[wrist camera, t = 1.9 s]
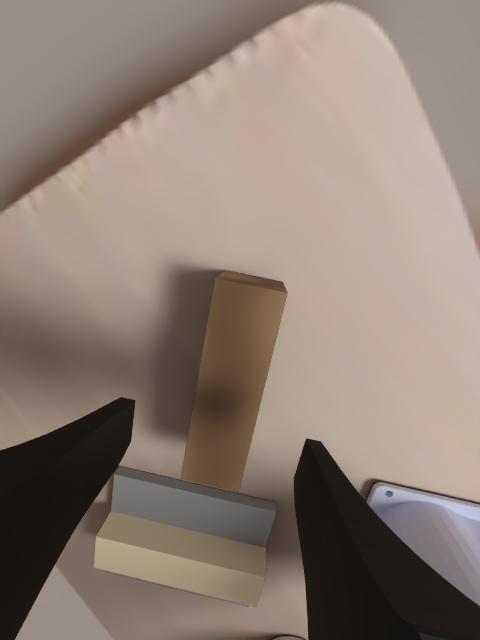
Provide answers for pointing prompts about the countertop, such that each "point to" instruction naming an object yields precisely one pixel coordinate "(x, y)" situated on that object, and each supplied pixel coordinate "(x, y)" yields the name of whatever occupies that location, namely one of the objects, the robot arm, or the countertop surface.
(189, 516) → the board
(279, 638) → the supplement bottle
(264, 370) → the walnut bar
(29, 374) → the countertop surface
